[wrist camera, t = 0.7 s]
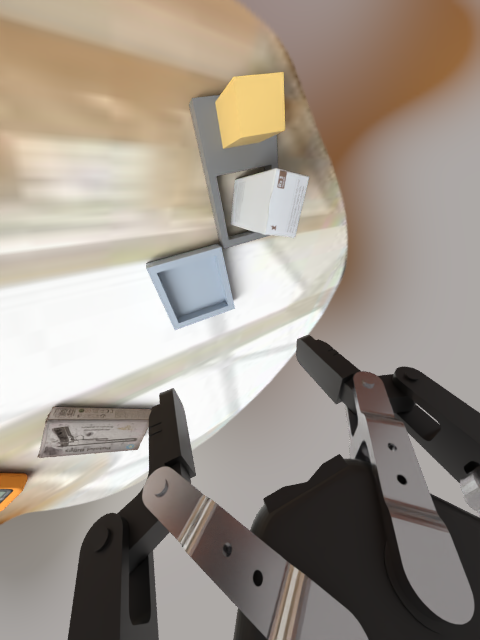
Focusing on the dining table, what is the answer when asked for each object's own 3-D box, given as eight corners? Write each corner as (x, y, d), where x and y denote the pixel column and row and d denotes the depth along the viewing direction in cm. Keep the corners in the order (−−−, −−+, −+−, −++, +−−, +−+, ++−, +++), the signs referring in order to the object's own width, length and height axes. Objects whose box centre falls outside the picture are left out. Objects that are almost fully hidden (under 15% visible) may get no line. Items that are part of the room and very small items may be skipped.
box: (139, 437, 48) (138, 450, 46) (43, 443, 39) (36, 460, 36) (153, 406, 45) (153, 419, 42) (51, 405, 35) (44, 420, 33)
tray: (146, 263, 30) (146, 268, 28) (216, 243, 32) (221, 246, 30) (173, 322, 36) (174, 330, 34) (230, 302, 38) (234, 308, 36)
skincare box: (253, 227, 33) (297, 241, 23) (227, 224, 31) (263, 237, 21) (260, 182, 30) (314, 176, 20) (232, 176, 28) (276, 166, 18)
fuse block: (188, 104, 23) (204, 70, 17) (266, 95, 25) (306, 61, 19) (220, 246, 32) (238, 258, 26) (275, 230, 34) (303, 238, 28)
